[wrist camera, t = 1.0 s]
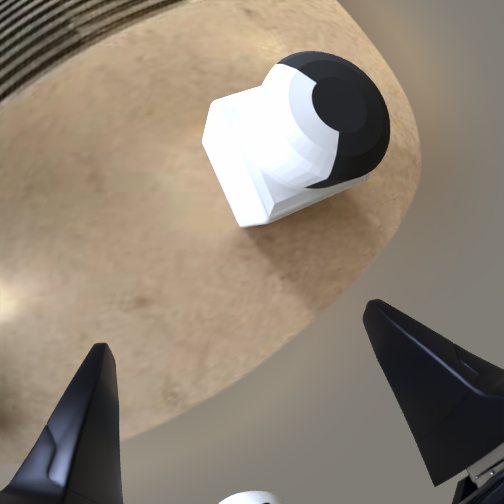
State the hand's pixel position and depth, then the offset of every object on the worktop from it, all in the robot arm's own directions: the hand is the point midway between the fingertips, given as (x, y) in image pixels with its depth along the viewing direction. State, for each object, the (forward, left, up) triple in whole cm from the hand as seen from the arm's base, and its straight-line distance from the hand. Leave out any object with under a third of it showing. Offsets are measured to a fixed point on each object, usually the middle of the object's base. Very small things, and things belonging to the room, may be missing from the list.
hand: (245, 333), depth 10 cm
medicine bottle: (+6, -7, -13) cm, 16 cm away
